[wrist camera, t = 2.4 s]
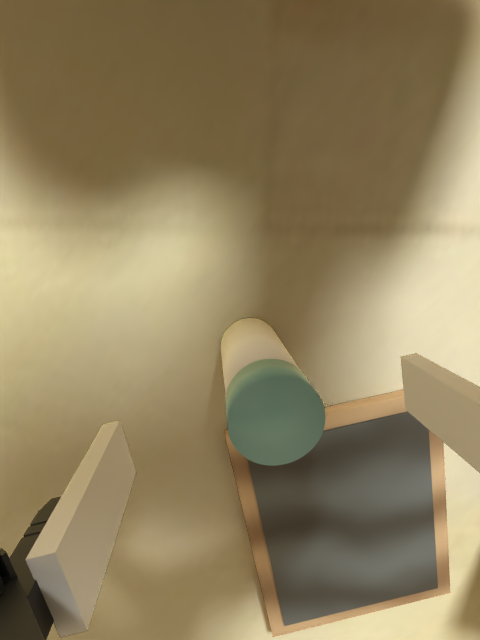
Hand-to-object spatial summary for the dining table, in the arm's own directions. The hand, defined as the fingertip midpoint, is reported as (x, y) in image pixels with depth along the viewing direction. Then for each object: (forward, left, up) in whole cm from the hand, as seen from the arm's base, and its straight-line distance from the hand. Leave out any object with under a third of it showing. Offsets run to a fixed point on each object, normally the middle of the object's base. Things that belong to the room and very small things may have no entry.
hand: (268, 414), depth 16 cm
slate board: (+16, +5, -9) cm, 19 cm away
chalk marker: (0, 0, -9) cm, 9 cm away
